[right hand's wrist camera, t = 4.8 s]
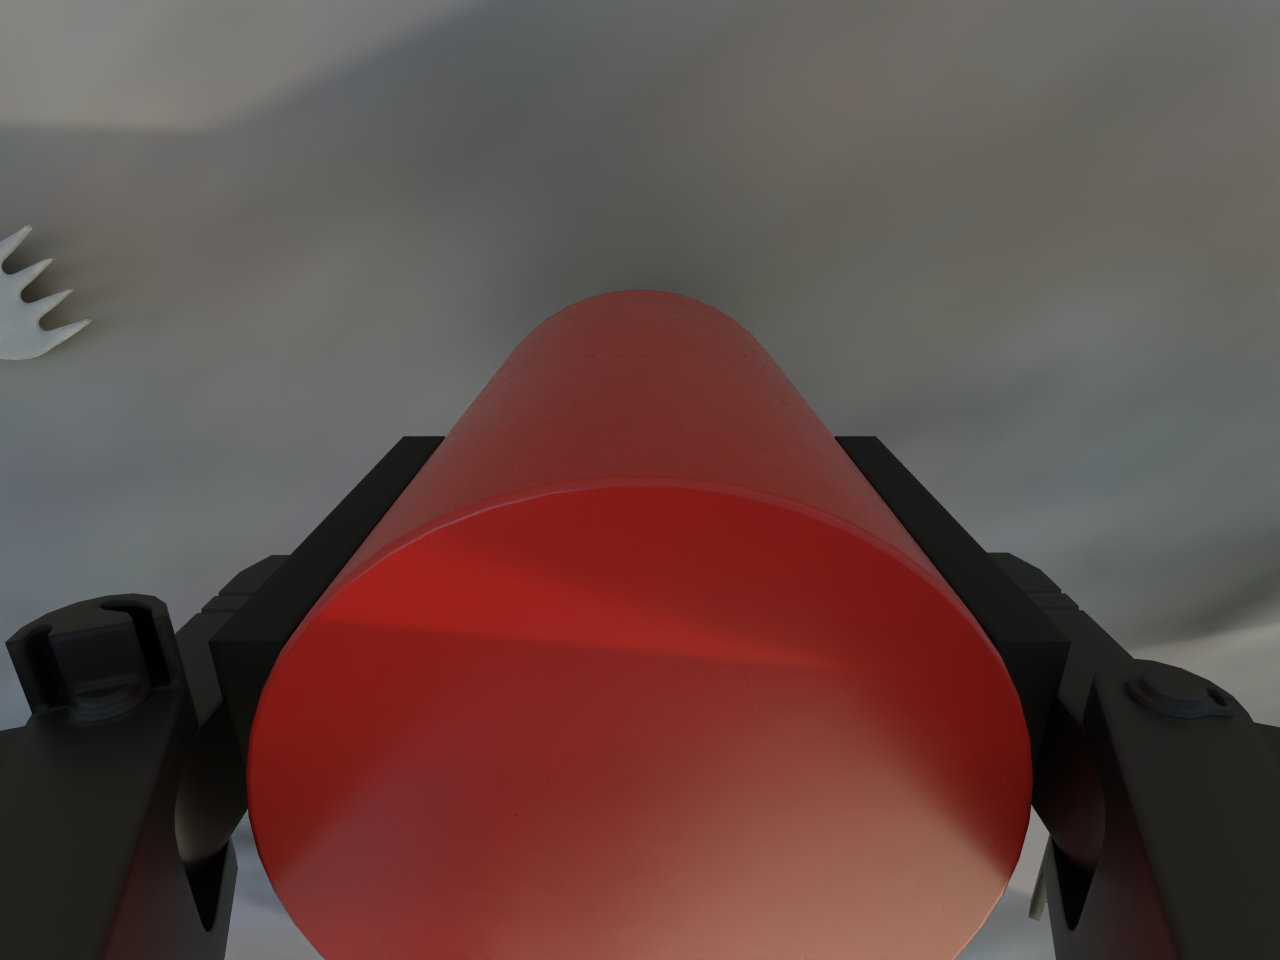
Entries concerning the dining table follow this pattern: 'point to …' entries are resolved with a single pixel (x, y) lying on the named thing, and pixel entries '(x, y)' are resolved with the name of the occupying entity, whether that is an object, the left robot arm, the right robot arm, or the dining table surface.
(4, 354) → the fork
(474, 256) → the dining table surface
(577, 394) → the canister
